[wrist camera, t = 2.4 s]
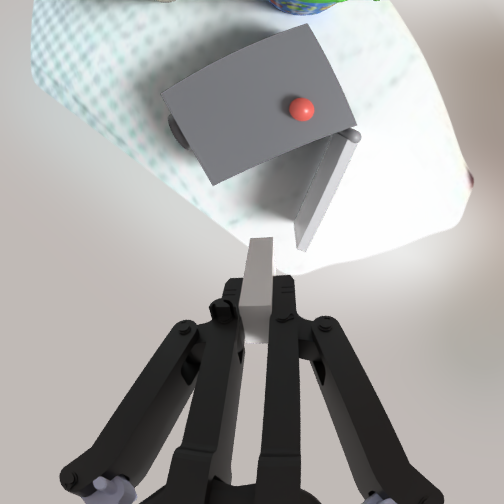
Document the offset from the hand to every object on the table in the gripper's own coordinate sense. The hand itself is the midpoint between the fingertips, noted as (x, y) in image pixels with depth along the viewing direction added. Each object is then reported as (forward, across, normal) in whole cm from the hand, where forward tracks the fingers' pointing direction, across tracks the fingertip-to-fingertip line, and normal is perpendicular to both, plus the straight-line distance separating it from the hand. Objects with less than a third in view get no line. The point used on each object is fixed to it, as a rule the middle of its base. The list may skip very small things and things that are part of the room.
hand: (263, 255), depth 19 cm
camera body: (+15, 0, +10) cm, 18 cm away
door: (+14, +6, +1) cm, 16 cm away
